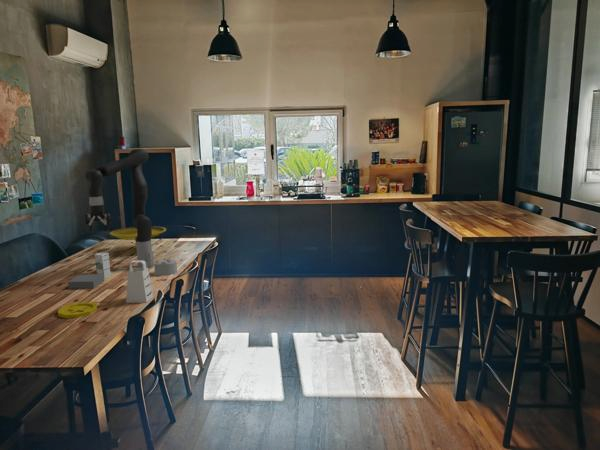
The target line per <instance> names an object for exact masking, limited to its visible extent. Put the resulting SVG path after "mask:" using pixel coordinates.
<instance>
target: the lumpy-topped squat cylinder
mask: <svg viewBox="0 0 600 450" xmlns="http://www.w3.org/2000/svg"><path fill="white" fill-rule="evenodd" d="M153 268H154V276H157V277H163V276H162V275H166V276H172V275H175V274H177V273H178V263H177V260H175V259H172V258H167V257H164V258H162V259H157V260H154V265H153ZM171 274H172V275H171Z"/></svg>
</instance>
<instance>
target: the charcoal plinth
mask: <svg viewBox="0 0 600 450" xmlns="http://www.w3.org/2000/svg"><path fill="white" fill-rule="evenodd" d="M104 282H105V278H104V274H97V273H95V274H78V275H77V276H75V277H74V278H72V279H70V280H68V281H67V285H68V290H69V289H71V290H73V289H74V290H77V289H82V290H84V289H85V290H86V289H87V290H88V289H95V288H97V287H98V286H100V285H101V284H102V283H104Z"/></svg>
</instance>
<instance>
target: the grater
mask: <svg viewBox="0 0 600 450" xmlns="http://www.w3.org/2000/svg"><path fill="white" fill-rule="evenodd" d="M138 262H142V263H143V268H138V267H133V265H132V264H133V263H138ZM128 267H129V268H128V271H127V279H126V281H127V282H126V297H125V298H126V300H125V302H126V303H127V304H128V303H130V304H131V303H135V304H137V303H145V304H146V303H148V302H149V301H150V300H151V299H152V298H153V297H154V292H153V291H154V290H153V286H152V281H151V279H150V278H151V277H150V273H149V268H146V262H145V261H144V260H137V259H136V260H135V259H134V260H133V259H132V260H131V261H130V262H129V263H128Z"/></svg>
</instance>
